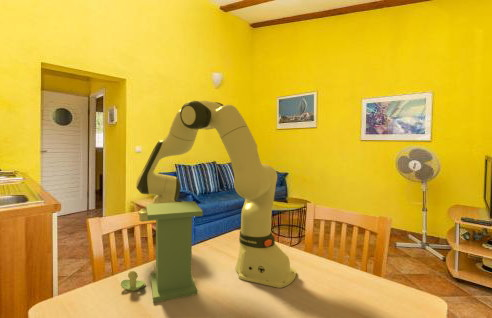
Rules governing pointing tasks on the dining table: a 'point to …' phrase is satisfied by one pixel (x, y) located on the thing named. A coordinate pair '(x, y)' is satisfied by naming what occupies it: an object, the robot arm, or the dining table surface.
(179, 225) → the stand
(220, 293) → the dining table surface
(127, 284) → the pacifier
